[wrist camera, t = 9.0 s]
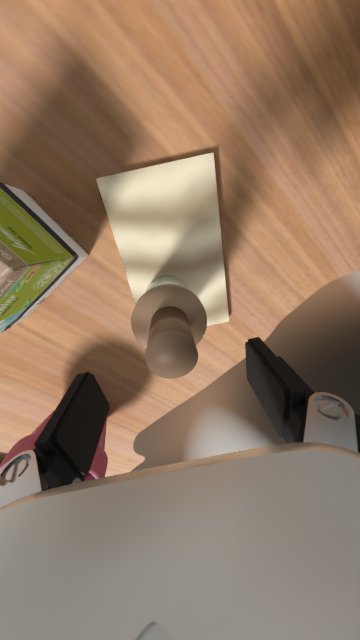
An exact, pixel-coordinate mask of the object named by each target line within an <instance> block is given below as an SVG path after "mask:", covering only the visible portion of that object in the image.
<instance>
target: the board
mask: <svg viewBox="0 0 360 640" xmlns="http://www.w3.org/2000/svg"><path fill="white" fill-rule="evenodd" d="M96 181H97V184H98V187H99V190H100V194H101V197H102V200H103V203H104V206H105V209H106V212H107V216H108V219H109V222H110V225H111V228H112V231H113V234H114V238H115V241H116V244H117V247H118V250H119V253H120V256H121V260H122V263H123V266H124V269H125V272H126V275H127V278H128V282H129V285H130V288H131V291H132V294H133V297H134V300H135V304H137V302H138V300H139V299H140V297H141V296H142V295H143V294H144V293H145V292H146V289H147V287H148V286H149V284H150V283H151V282H152V281H153V280H154V279H156V278H158V277H161V276H166V275H169V276H175V277H177V278H179V279H181V280H182V281H184V282H185V284H186V285H187V286H188V288H189V290H190V291H192V292H193V293H194V294H195V295H196V296H197V297H198V298H199V300H200V301H201V303H202V305H203V306H204V308H205V311H206V315H207V326H210V325H214V324H219V323H224V322H228V321H229V314H228V303H227V293H226V282H225V271H224V260H223V250H222V239H221V228H220V217H219V206H218V196H217V185H216V174H215V163H214V152H213V153H208V154H204V155H199V156H195V157H190V158H186V159H181V160H177V161H172V162H168V163H163V164H159V165H154V166H150V167H145V168H141V169H136V170H132V171H127V172H123V173H118V174H114V175H109V176H105V177H100V178H96Z"/></svg>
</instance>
